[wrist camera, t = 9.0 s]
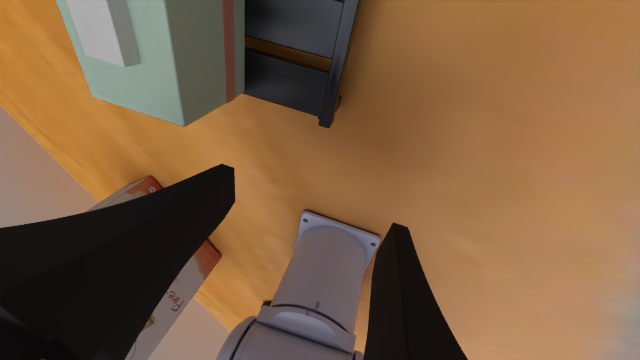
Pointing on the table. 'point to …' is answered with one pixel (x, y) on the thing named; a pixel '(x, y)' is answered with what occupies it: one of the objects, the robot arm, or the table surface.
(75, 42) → the tissue box
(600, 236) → the table surface
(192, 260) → the cracker box
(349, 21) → the rack
